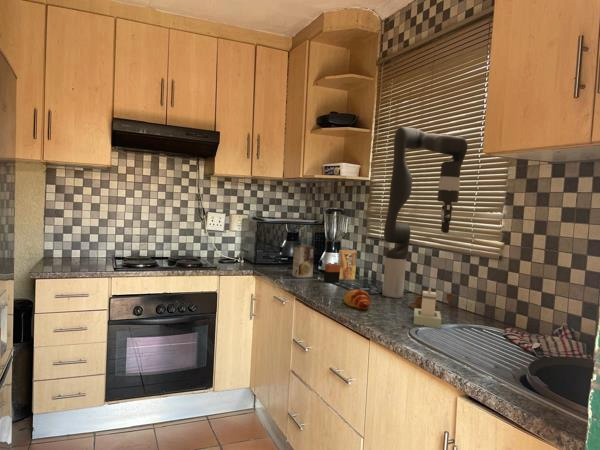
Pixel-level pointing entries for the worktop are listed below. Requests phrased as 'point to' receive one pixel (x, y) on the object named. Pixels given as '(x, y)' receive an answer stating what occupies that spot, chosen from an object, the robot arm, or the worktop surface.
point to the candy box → (347, 264)
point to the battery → (332, 273)
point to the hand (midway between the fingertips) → (444, 232)
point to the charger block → (428, 303)
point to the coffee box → (303, 261)
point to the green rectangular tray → (427, 319)
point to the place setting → (419, 302)
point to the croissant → (357, 299)
